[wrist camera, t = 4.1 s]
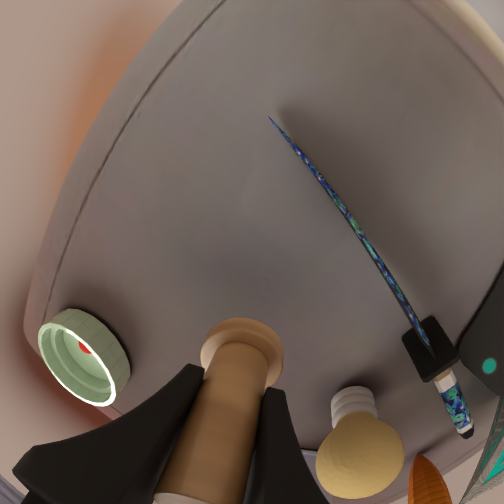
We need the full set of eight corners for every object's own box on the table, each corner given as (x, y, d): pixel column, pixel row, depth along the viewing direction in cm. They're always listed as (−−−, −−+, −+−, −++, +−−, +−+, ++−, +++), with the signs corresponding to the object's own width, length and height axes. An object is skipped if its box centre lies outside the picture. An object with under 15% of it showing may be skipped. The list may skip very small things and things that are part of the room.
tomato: (103, 349, 24) (92, 361, 22) (87, 341, 24) (75, 352, 22) (102, 333, 23) (90, 344, 21) (85, 325, 23) (73, 336, 21)
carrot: (416, 442, 23) (439, 550, 9) (443, 443, 23) (469, 539, 9) (391, 464, 25) (403, 564, 11) (419, 465, 24) (436, 555, 10)
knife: (464, 406, 19) (479, 435, 15) (439, 422, 20) (450, 452, 16) (306, 105, 18) (304, 82, 13) (269, 129, 18) (258, 112, 14)
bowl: (133, 397, 26) (119, 419, 23) (64, 362, 26) (48, 379, 23) (132, 328, 23) (111, 350, 19) (53, 292, 23) (31, 307, 20)
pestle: (271, 386, 13) (245, 536, 6) (200, 366, 13) (136, 504, 6) (294, 329, 12) (280, 508, 4) (213, 306, 12) (125, 463, 5)
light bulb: (308, 416, 23) (304, 510, 14) (324, 367, 21) (330, 475, 12) (372, 419, 22) (386, 506, 13) (396, 371, 20) (428, 466, 11)
